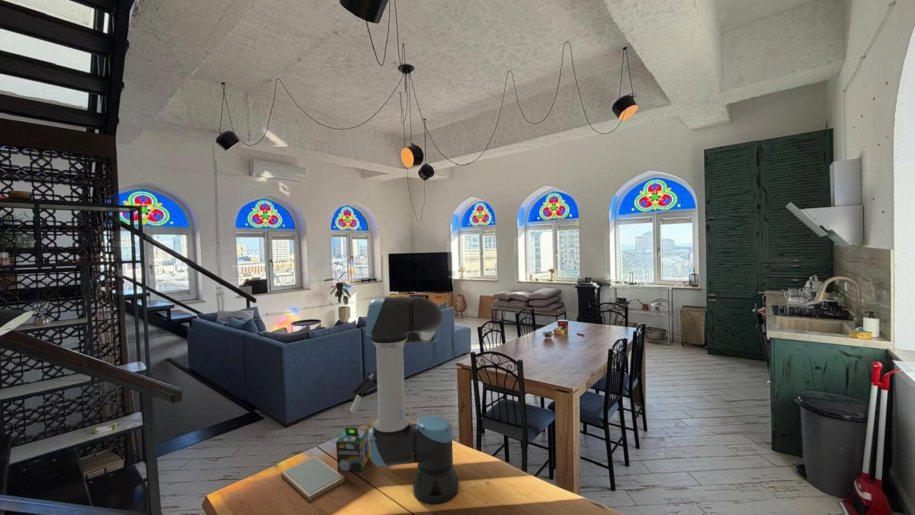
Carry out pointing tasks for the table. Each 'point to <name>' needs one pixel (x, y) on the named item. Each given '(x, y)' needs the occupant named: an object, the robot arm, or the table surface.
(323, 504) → the table surface
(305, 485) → the slate board
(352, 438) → the chalk box
